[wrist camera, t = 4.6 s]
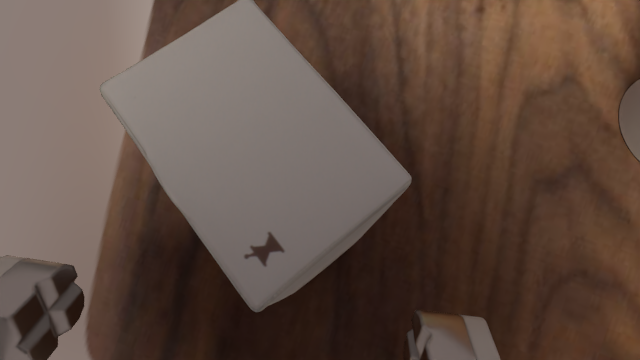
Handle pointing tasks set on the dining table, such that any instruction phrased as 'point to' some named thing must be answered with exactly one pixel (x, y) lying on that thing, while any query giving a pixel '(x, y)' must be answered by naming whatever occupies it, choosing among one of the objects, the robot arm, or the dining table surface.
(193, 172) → the cosmetic box
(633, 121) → the coffee cup
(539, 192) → the dining table surface
